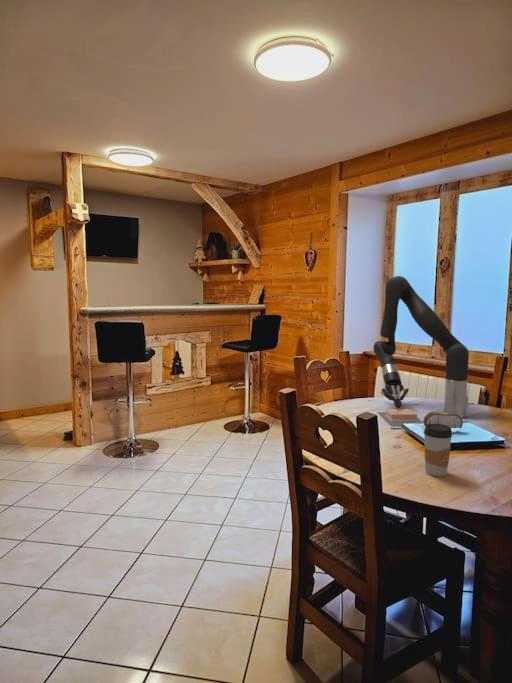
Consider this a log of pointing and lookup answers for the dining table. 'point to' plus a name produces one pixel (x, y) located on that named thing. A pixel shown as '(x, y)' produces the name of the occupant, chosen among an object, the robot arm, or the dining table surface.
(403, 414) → the tile
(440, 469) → the coffee cup
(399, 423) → the slate board
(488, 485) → the dining table surface
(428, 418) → the tin
